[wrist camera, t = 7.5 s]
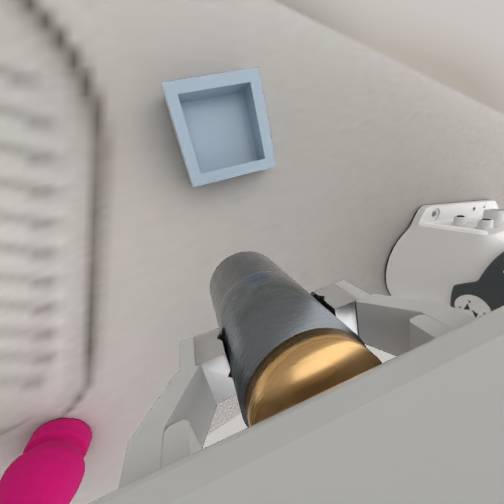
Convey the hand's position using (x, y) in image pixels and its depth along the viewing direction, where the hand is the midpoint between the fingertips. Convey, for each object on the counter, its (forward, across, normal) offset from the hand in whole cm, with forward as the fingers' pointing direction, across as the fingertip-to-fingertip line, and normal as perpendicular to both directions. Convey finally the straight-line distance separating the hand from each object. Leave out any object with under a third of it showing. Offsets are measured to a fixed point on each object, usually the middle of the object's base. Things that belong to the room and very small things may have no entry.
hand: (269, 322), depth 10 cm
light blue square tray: (+19, -4, -10) cm, 22 cm away
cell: (+4, 0, 0) cm, 4 cm away
